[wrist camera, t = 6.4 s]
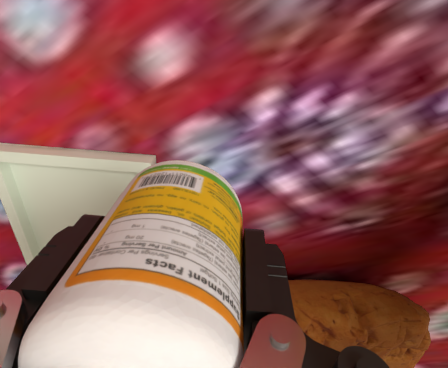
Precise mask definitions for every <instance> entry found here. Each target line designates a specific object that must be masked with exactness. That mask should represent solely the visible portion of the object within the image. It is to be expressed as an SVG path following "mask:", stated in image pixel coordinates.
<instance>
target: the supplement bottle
mask: <svg viewBox="0 0 448 368" xmlns="http://www.w3.org/2000/svg"><path fill="white" fill-rule="evenodd" d="M243 357H244V337H243V224H242V210H241V205H240V202H239V199H238V197H237V195H236V193H235V191H234V190H233V188H232V187H231V185H230V184H229V183H228V182H227V181H226V180H225V179H224V178H223V177H222V176H221V175H219V174H218V173H216V172H215V171H213V170H212V169H210V168H208V167H205V166H203V165H200V164H197V163H193V162H189V161H179V160H175V161H165V162H160V163H157V164H154V165H152V166H149V167H147V168H146V169H144V170H143V171H141V172H140V173H138V174H137V175H136V176H135V177H134V178H133V179H132V181H131V182H130V183H129V184H128V186H127V187H126V188H125V190H124V191H123V192H122V194H121V195H120V196H119V198H118V199H117V201H116V202H115V203H114V205H113V206H112V208H111V209H110V211H109V212H108V213H107V215H106V216H105V218H104V219H103V220H102V222H101V223H100V225H99V226H98V228H97V229H96V230H95V232H94V233H93V235H92V236H91V237H90V239H89V240H88V242H87V243H86V244H85V246H84V247H83V249H82V250H81V251H80V253H79V254H78V256H77V257H76V258H75V260H74V261H73V263H72V264H71V265H70V267H69V268H68V270H67V271H66V272H65V274H64V275H63V277H62V278H61V279H60V281H59V282H58V283H57V285H56V286H55V287H54V289H53V290H52V292H51V293H50V294H49V296H48V297H47V299H46V300H45V302H44V303H43V305H42V306H41V308H40V309H39V311H38V312H37V314H36V315H35V317H34V318H33V320H32V321H31V323H30V324H29V326H28V328H27V330H26V332H25V334H24V336H23V338H22V341H21V344H20V348H19V355H18V368H239V367H240V365H241V362H242V360H243Z"/></svg>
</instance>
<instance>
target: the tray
mask: <svg viewBox="0 0 448 368" xmlns="http://www.w3.org/2000/svg"><path fill="white" fill-rule="evenodd" d="M154 164H156V155H146V154H133V153H121V152H108V151H95V150H83V149H70V148H58V147H45V146H33V145H20V144H8V143H0V199H1V201H2V204H3V206H4V209H5V211H6V214H7V216H8V219H9V221H10V224H11V226H12V229H13V231H14V234H15V236H16V239H17V241H18V244H19V246H20V249H21V251H22V254H23V256H24V259H25V261H26V264H27V265H28V264H29V263H30V262H31V261H32V260H33V259H34V258H35V256H36V255H37V256H38V253H39V252H40V251H41V250H42V249H43V247H46V244H47V243H48V242H49V241H50V240H51V239H52V237H53V236H54V235H55V234H57V233H58V232H60V231H61V230H63V229H65V228H66V227H68V226H74V225H75V223H76V222H77V221H78V220H79V219H80V218H81V216H83V215H84V214H88V215H100V216H106V215H107V213H108V212H109V211H110V209H111V208H112V206H113V205H114V203H115V202H116V201H117V199H118V198H119V196H120V195H121V194H122V192H123V191H124V190H125V188H126V187H127V186H128V184H129V183H130V182H131V181H132V179H133V178H134V177H135V176H136V175H137V174H138V173H140V172H141V171H143V170H144V169H146V168H147V167H149V166H152V165H154Z"/></svg>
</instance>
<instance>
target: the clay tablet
mask: <svg viewBox="0 0 448 368" xmlns="http://www.w3.org/2000/svg"><path fill="white" fill-rule="evenodd" d="M288 282H289V287H290V293H291V298H292V303H293V309H294V314H295V318H296V321H297V323H298V325H299V326H300V328H301V329H302V331H303V332H304V333H305V334H306V335H307V336H309V337H310V338H311V339H313V340H314V341H316V342H318V343H320V344H322V345H325V346H327V347H329V348H332V349H334V350H337V351H339V352H341V351H342V350H343V349H344V348H346V347H349V346H361V347H364V348H366V349H369V350H371V351H372V352H374V353H375V354H377V355H378V356H379V357H380V358H382V359H383V360H384V361H385V363H386V364H387V365H388V366H389V368H414V367H415V364H416V363H418V361H419V360H420V358H421V357H422V356H423V354H424V352H425V350H427V349H428V347H429V345H430V343H431V339H430V333H429V331H428V325H429V321H430V318H429V313H428V312H427V311H426V310H425V309H423V308H422V306H420V305H418V304H416V303H414V302H413V301H411V300H410V299H409V298H407V297H405V296H403V295H401V294H400V293H398V292H396V291H393V290H389V289H386V288H383V287H378V286H375V285H373V284H365V283H355V282H343V281H327V280H288Z"/></svg>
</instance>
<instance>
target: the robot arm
mask: <svg viewBox="0 0 448 368" xmlns="http://www.w3.org/2000/svg"><path fill="white" fill-rule="evenodd" d="M104 218H105V216H100V215H88V214H84V215H83V216H81V218H80V219H79V220H78V221H77V222H76V223H75V225H74V226H68V227H66V228H65V229H63V230H61V231H60V232H58V233H57V234H55V235H54V236H53V237H52V239H51V240H50V241H49V242H48V243H47V244H46V247H43V249H42V250H41V251H40V252H39V253H38V256H37V255H36V256H35V258H34V259H33V260H32V261H31V262H30V263H29V264H28V265H27V266H26V268H25V269H24V270H23V271H22V272H21V273H20V274H19V275H18V277H17V278H16V279H15V280H14V281H13V282H12V283H11V284H10V285H9V287H8V288H7V289H6V290H0V368H18V355H19V348H20V344H21V341H22V338H23V336H24V334H25V332H26V330H27V328H28V326H29V324H30V323H31V321H32V320H33V318H34V317H35V315H36V314H37V312H38V311H39V309H40V308H41V306H42V305H43V303H44V302H45V300H46V299H47V297H48V296H49V294H50V293H51V292H52V290H53V289H54V287H55V286H56V285H57V283H58V282H59V281H60V279H61V278H62V277H63V275H64V274H65V272H66V271H67V270H68V268H69V267H70V265H71V264H72V263H73V261H74V260H75V258H76V257H77V256H78V254H79V253H80V251H81V250H82V249H83V247H84V246H85V244H86V243H87V242H88V240H89V239H90V237H91V236H92V235H93V233H94V232H95V230H96V229H97V228H98V226H99V225H100V223H101V222H102V220H103V219H104ZM243 337H244V357H243V360H242V362H241V365H240V367H239V368H389V366H388V365H387V364H386V363H385V361H384V360H383V359H382V358H380V357H379V356H378V355H377V354H375V353H374V352H372V351H371V350H369V349H366V348H364V347H361V346H349V347H346V348H344V349H343V350H342V351H341V352H339V351H337V350H334V349H332V348H329V347H327V346H325V345H322V344H320V343H318V342H316V341H314V340H313V339H311V338H310V337H309V336H307V335H306V334H305V333H304V332H303V331H302V329H301V328H300V326H299V325H298V323H297V321H296V318H295V314H294V309H293V303H292V298H291V293H290V287H289V282H288V278H287V271H286V265H285V260H284V255H283V253H282V252H281V251H280V249H279V248H278V246H277V245H276V244H265V238H264V231H263V230H257V229H246V228H245V229H244V235H243Z"/></svg>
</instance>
